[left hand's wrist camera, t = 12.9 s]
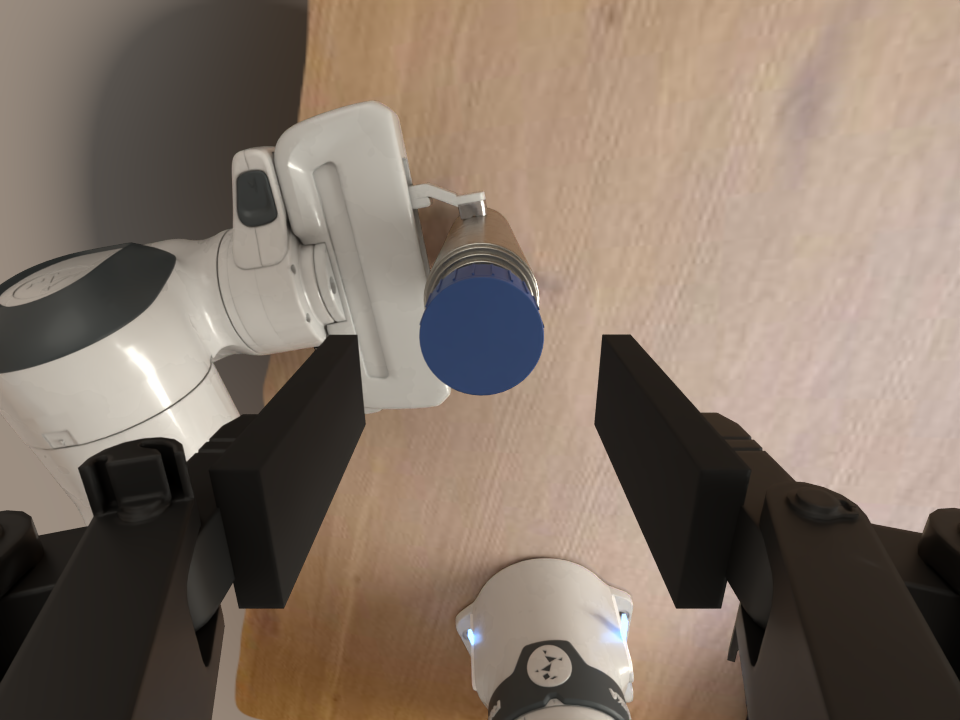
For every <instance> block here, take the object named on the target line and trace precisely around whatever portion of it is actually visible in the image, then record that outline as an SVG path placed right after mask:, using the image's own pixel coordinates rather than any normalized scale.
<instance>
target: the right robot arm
mask: <svg viewBox="0 0 960 720" xmlns="http://www.w3.org/2000/svg"><path fill="white" fill-rule="evenodd" d="M232 189H233V228H231V229H227V230H224V231H222V232H220V233H218V234H216V235H215V236H213V237H211V238H208V239H204V240H188V239H170V240H164V241H158V242H153V243H148V244H144V245H141V244H136V243H125V244H119V245H113V246H108V247H102V248H97V249H92V250H87V251H82V252H77V253H73V254H69V255H65V256H62V257H58V258H55V259H52V260H49V261H46V262H43V263H41V264H38V265H36V266H33V267H31V268H29V269H27V270H24V271H22V272H21V273H19V274H17V275H15V276H13V277H12V278H10V279H8V280H7V281H5V282H4V283H2V284H1V285H0V414H1V415H2V416H3V418H4V419H5V420H6V421H7V422H8V424H9V425H10V426H11V427H12V429H13V430H14V431H15V432H16V433H17V435H18V436H19V437H20V438H21V440H22V441H23V442H24V443H25V444H26V445H28V446H29V447H30V448H31V450H32V451H33V452H34V453H35V455H36V456H37V457H38V458H39V460H40V461H41V462H42V463H43V465H44V466H45V467H46V469H47V470H48V471H49V472H50V474H51V475H52V476H53V477H54V478H55V480H56V481H57V482H58V483H59V485H60V486H61V487H62V489H63V490H64V491H65V492H66V494H67V495H68V496H69V497H70V499H71V500H72V501H73V502H74V504H75V505H76V507H77V508H78V510H79V512H80V513H81V515H82V517H83V520H84V522H85V525H86V526H88V525H89V524H90V522H91V520H92V518H93V513H92V510H91V507H90V504H89V501H88V498H87V495H86V492H85V489H84V486H83V482H82V479H81V476H80V473H79V470H78V467H79V466H80V465H81V464H83V463H84V462H85V461H86V460H87V459H88V458H90V457H91V456H93V455H95V454H97V453H99V452H101V451H102V450H104V449H107V448H110V447H112V446H115V445H118V444H121V443H123V442H128V441H132V440H137V439H142V438H153V437H164V438H171V439H175V440H177V441H178V442H180V443H182V444H183V448H184V453H185V457H186V461H188V460H189V459H190V458H191V457H192V456H193V455H194V454H195V453H198V450H199V449H200V448H201V447H202V446H203V445H204V444H205V443H206V442H209V439H210V438H211V437H212V436H213V435H214V434H215V433H216V432H217V431H218V430H219V429H220V428H221V427H222V426H223V425H225V424H226V423H228V422H230V421H232V420H234V419H236V418H237V417H239V416H240V414H239V412H238V410H237V408H236V406H235V404H234V403H233V401H232V399H231V397H230V395H229V393H228V391H227V389H226V387H225V385H224V383H223V381H222V379H221V377H220V375H219V373H218V371H217V369H216V367H215V365H214V363H213V362H216V361H218V360H220V359H222V358H224V357H226V356H229V355H233V354H248V355H268V354H274V353H280V352H287V351H293V350H299V349H305V348H311V347H314V349H315V350H316V349H317V348H318V347H319V346H320V345H321V344H322V342H323V341H324V340H325V339H326V338H327V337H328V336H329V335H358V345H359V356H360V367H361V378H362V390H363V401H364V412H365V414H369V413H375V412H379V411H381V410H383V409H416V408H428V407H435V406H438V405H440V404H442V403H443V402H444V401H445V400H446V398H447V397H448V396H449V395H450V393H451V387H449V386H447V385H446V384H444V383H443V382H442V381H440V380H439V379H438V378H437V377H436V376H435V375H434V374H433V373H432V371H431V370H430V369H429V367H428V366H427V364H426V362H425V360H424V357H423V355H422V352H421V348H420V340H419V331H420V325H419V324H420V321H421V318H422V316H423V313H424V310H425V309H424V300H423V299H424V289H425V284H426V281H427V278H428V276H429V274H430V272H431V271H430V266H429V261H428V257H427V252H426V247H425V242H424V237H423V232H422V227H421V223H420V218H419V213H418V208H423V207H429V206H430V205H431V204H432V203H433V200H432V198H435V199H437V200H440V201H443V202H445V203H448V204H451V205H453V206H456V207H458V208H459V213H460V218H461V220H462V219H468V218H471V217H472V216H473V215H475V216H485V215H488V213H487V206H486V199H485V193H484V191H478V192H473V193H467V194H461V195H457V193H455V192H453V191H450V190H447V189H445V188H442V187H440V186H437V185H434V184H432V183H424V184H419V185H413V184H412V179H411V174H410V169H409V164H408V159H407V154H406V150H405V145H404V140H403V135H402V130H401V125H400V121H399V117H398V115H397V114H396V113H395V112H394V111H393V110H392V109H391V108H389V107H388V106H386V105H385V104H383V103H381V102H379V101H365V102H360V103H356V104H352V105H348V106H344V107H341V108H337V109H334V110H331V111H328V112H325V113H322V114H319V115H316V116H314V117H311V118H308V119H306V120H304V121H301V122H299V123H297V124H295V125H293V126H292V127H290V128H289V129H287V130H286V131H285V132H284V133H283V134H282V135H281V137H280V138H279V140H278V142H277V144H276V147H273V146H262V147H254V148H249V149H246V150H243V151H240V152H238V153H236V154H235V156H234V157H233V161H232ZM632 611H633V603H632V598H631V596H630V595H629V594H628V593H627V592H625V591H622V590H620V589H617V588H614V587H611V586H608V585H607V584H605V583H604V582H603V581H602V580H601V579H599V578H598V577H597V576H596V575H595V574H594V573H593V572H591V571H590V570H588V569H587V568H585V567H583V566H581V565H579V564H576V563H574V562H570V561H567V560H562V559H555V558H537V559H530V560H525V561H521V562H518V563H515V564H513V565H510V566H508V567H506V568H504V569H503V570H501V571H499V572H498V573H496V574H495V575H494V576H493V577H492V578H490V579H489V580H488V582H487V583H486V584H485V585H484V586H483V588H482V589H481V591H480V593H479V595H478V596H477V598H476V599H475V601H474V602H473V603H472V604H470V605H469V606H467V607H466V608H465V609H463V610H462V611H461V612H460V613H459V614H458V615H457V616H456V618H455V622H456V629H457V632H458V633H459V635H460V637H461V639H462V641H463V643H464V645H465V647H466V648H467V650H468V652H469V654H470V656H471V669H472V686H473V689H474V690H475V691H477V692H478V695H479V697H480V699H481V701H482V702H483V704H484V705H485V706H486V708H487V709H488V720H631V716H630V712H629V709H628V707H627V705H626V702H631V701H633V688H632V683H631V682H633V681H634V675H633V667H632V661H631V657H630V653H629V650H628V646H627V639H628V634H629V628H630V622H631V617H632Z"/></svg>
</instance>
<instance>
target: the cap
mask: <svg viewBox="0 0 960 720" xmlns="http://www.w3.org/2000/svg"><path fill="white" fill-rule="evenodd" d="M425 307H426V309H425V310H424V313H423V316H422V318H421V321H420V324H419V325H420V331H419V340H420V348H421V352H422V355H423V357H424V360H425V362H426V364H427V366H428V367H429V369H430V370H431V371H432V373H433V374H434V375H435V376H436V377H437V378H438V379H439V380H440V381H442V382H443V383H444V384H446V385H447V386H449V387H451V388H453V389H455V390H457V391H460V392H463V393H466V394H471V395H492V394H497V393H500V392H504V391H506V390H508V389H511V388H512V387H514V386H516V385H518V384H519V383H520V382H522V381H523V380H524V379H525V378H526V377H527V376H528V375H529V374H530V373H531V371H532V370H533V369H534V367H535V366H536V364H537V362H538V360H539V358H540V356H541V352H542V349H543V343H544V329H543V328H544V325H543V322H542V320H541V316H540V314H539V311H538V310H540V309H539V307H538V304H537V302H536V299H535V297H534V295H533V296H532V294H531V293H530V291H529V289H528V288H527V286H526V284H525V282H524V281H521V280H520V279H519V278H518V277H517V276H516V275H514V274H513V273H511V271H510V270H506V269H503V268H501V267H498V266H494V265H493V264H491V265H487V264H475V263H474V264H472V265H469V266H465V267H462V268H460V269H455V271H453V272H452V273H450V274H449V275H447V276H446V277H445V278H444V279H443V280H442V279H441V280H440V282H439V284H438V285H437V286H436V288H435V289H434V291H433V293H430V295H429V297H428V300H427V303H426V305H425Z"/></svg>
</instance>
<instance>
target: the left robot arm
mask: <svg viewBox="0 0 960 720" xmlns="http://www.w3.org/2000/svg"><path fill="white" fill-rule="evenodd" d="M365 425H366V423H365V412H364V401H363V390H362V378H361V367H360V356H359V345H358V335H329V336H328V337H327V338H326V339H325V340H324V341H323V342H322V344H321V345H320V346H319V347H318V348H317V349H316V350H315V351H314V353H313V354H312V355H311V356H310V357H309V358H308V359H307V360H306V361H305V363H304V364H303V365H302V366H301V367H300V368H299V369H298V370H297V371H296V373H295V374H294V375H293V376H292V377H291V378H290V379H289V380H288V382H287V383H286V384H285V385H284V386H283V387H282V388H281V389H280V390H279V392H278V393H277V394H276V395H275V396H274V397H273V398H272V399H271V400H270V402H269V403H268V404H267V405H266V406H265V407H264V408H263V409H262V411H261V412H260V413H259V414H243V415H241V416H239V417H237V418H236V419H234V420H232V421H230V422H228V423H226V424H225V425H223V426H222V427H221V428H220V429H219V430H218V431H217V432H216V433H215V434H214V435H213V436H212V437H211V438H210V439H209V442H206V443H205V444H204V445H203V446H202V447H201V448H200V449H199V450H198V453H195V454H194V455H193V456H192V457H191V458H190V459H189V460H188V461H186V457H185V453H184V448H183V444H182V443H180V442H178V441H177V440H175V439H171V438H164V437H153V438H142V439H137V440H132V441H128V442H123V443H121V444H118V445H115V446H112V447H110V448H107V449H104V450H102V451H101V452H99V453H97V454H95V455H93V456H91V457H90V458H88V459H87V460H86V461H85V462H84V463H83V464H81V465H80V466H79V467H78V470H79V473H80V476H81V479H82V482H83V486H84V489H85V492H86V495H87V498H88V501H89V504H90V507H91V510H92V513H93V518H92V520H91V522H90V524H89V525H88V526H86V527H81V528H76V529H71V530H66V531H60V532H55V533H50V534H45V535H40V536H38V533H37V530H36V528H35V525H34V522H33V520H32V517H31V516H29V515H28V514H26V513H24V512H22V511H9V510H6V511H0V720H212V713H213V705H214V698H215V691H216V684H217V677H218V670H219V662H220V655H221V648H222V641H223V634H224V627H225V625H224V618H223V613H222V609H221V605H220V604H221V602H222V600H223V599H224V597H225V595H226V593H227V592H228V590H229V588H230V587H231V585H232V583H233V584H234V588H235V593H236V597H237V602H238V606H239V608H243V609H284V607H285V605H286V603H287V600H288V598H289V596H290V594H291V591H292V589H293V587H294V585H295V582H296V580H297V578H298V576H299V573H300V571H301V569H302V566H303V564H304V562H305V560H306V557H307V555H308V553H309V551H310V548H311V546H312V544H313V542H314V539H315V537H316V535H317V533H318V530H319V528H320V526H321V524H322V521H323V519H324V517H325V515H326V512H327V510H328V508H329V506H330V503H331V501H332V499H333V497H334V494H335V492H336V490H337V488H338V485H339V483H340V481H341V479H342V476H343V474H344V472H345V470H346V467H347V465H348V463H349V461H350V458H351V456H352V454H353V452H354V449H355V447H356V445H357V443H358V440H359V438H360V436H361V434H362V431H363V429H364V427H365ZM594 425H595V427H596V429H597V431H598V434H599V436H600V438H601V440H602V443H603V445H604V447H605V449H606V452H607V454H608V456H609V458H610V461H611V463H612V465H613V467H614V470H615V472H616V474H617V476H618V479H619V481H620V483H621V485H622V488H623V490H624V492H625V494H626V497H627V499H628V501H629V503H630V506H631V508H632V510H633V512H634V515H635V517H636V519H637V521H638V524H639V526H640V528H641V530H642V533H643V535H644V537H645V539H646V542H647V544H648V546H649V548H650V551H651V553H652V555H653V557H654V560H655V562H656V564H657V567H658V569H659V571H660V573H661V576H662V578H663V580H664V582H665V585H666V587H667V589H668V591H669V594H670V596H671V598H672V600H673V603H674V605H675V607H676V609H721V606H722V602H723V597H724V593H725V588H726V584H727V581H728V582H729V584H730V586H731V587H732V589H733V591H734V592H735V594H736V596H737V597H738V599H739V601H740V605H739V609H738V613H737V617H736V621H735V626H734V630H733V634H732V638H731V642H730V647H729V652H728V659H727V660H729V661H732V662H735V659H736V655H737V651H738V650H739V654H740V661H741V668H742V675H743V683H744V690H745V697H746V704H747V711H748V718H749V720H960V509H958V508H946V509H937V510H936V511H934V512H932V513H931V514H930V515H929V517H928V520H927V522H926V525H925V528H924V530H923V533H918V532H913V531H907V530H902V529H897V528H891V527H886V526H881V525H876V524H871V523H870V521H869V519H868V517H867V516H866V514H865V513H864V512H863V511H862V510H861V509H860V508H859V506H858V505H856V504H855V503H853V502H852V501H850V500H849V499H847V498H846V497H844V496H843V495H841V494H839V493H836V492H834V491H831V490H829V489H827V488H824V487H821V486H817V485H813V484H809V483H805V482H796V481H795V480H794V479H793V478H792V477H791V476H790V475H789V474H788V473H787V472H786V471H785V470H784V469H783V468H782V467H781V466H780V465H779V464H778V463H777V462H776V461H775V460H774V459H773V458H772V457H771V456H770V455H769V454H768V453H767V452H766V451H762V447H761V446H760V445H759V444H758V443H757V442H756V441H755V440H751V436H750V435H749V434H748V433H747V432H746V431H745V430H744V429H743V428H742V427H741V426H740V425H739V424H737V423H735V422H734V421H732V420H730V419H728V418H726V417H724V416H722V415H721V414H719V413H700V412H699V411H698V409H697V408H696V407H695V406H694V405H693V404H692V403H691V402H690V400H689V399H688V398H687V397H686V396H685V395H684V394H683V393H682V392H681V390H680V389H679V388H678V387H677V386H676V385H675V384H674V383H673V382H672V380H671V379H670V378H669V377H668V376H667V375H666V374H665V373H664V371H663V370H662V369H661V368H660V367H659V366H658V365H657V364H656V363H655V361H654V360H653V359H652V358H651V357H650V356H649V355H648V354H647V353H646V351H645V350H644V349H643V348H642V347H641V346H640V345H639V344H638V342H637V341H636V340H635V339H634V338H633V337H632V336H631V335H602V345H601V356H600V367H599V378H598V390H597V401H596V412H595V423H594Z"/></svg>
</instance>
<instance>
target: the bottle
mask: <svg viewBox="0 0 960 720" xmlns="http://www.w3.org/2000/svg"><path fill="white" fill-rule="evenodd" d="M487 213H488V215H485V216H475V215H473V216H472V217H471V218H468V219H462V220H461V218H460V216H459V217H458V218H457V219H456V220H455V222H454V223H453V225H452V227H451V229H450V232H449V234H448V236H447V238H446V240H445V242H444V244H443V246H442V249H441V251H440V253H439V255H438V257H437V259H436V261H435V263H434V265H433V268H432V270H431V272H430V274H429V276H428V278H427V281H426V284H425V289H424V299H423V300H424V309H426V307H425V305H426V303H427V300H428V297H429V295H430V293H433V291H434V289H435V288H436V286H437V285H438V284H439V282H440V280H441V279H442V280H443V279H444V278H445V277H446V276H447V275H449V274H450V273H452V272H453V271H455V269H460V268H462V267H465V266H469V265H472V264H474V263H475V264H487V265H491V264H493V265H494V266H498V267H501V268H503V269H506V270H510V271H511V273H513V274H514V275H516V276H517V277H518V278H519V279H520V280H521V281H524V282H525V284H526V286H527V288H528V289H529V291H530V293H531V294H532V296H533V295H534V297H535V299H536V302H537V304H538V307H539V290H538V285H537V282H536V279H535V277H534V274H533V272H532V270H531V268H530V266H529V264H528V262H527V260H526V258H525V256H524V254H523V252H522V250H521V248H520V246H519V244H518V242H517V240H516V238H515V235H514V233H513V231H512V229H511V227H510V225H509V223H508V222H507V220H506V219H505V218H504V217H503V216H502V215H501V214H500V213H498V212H497V211H495V210H492V209H490V208H487Z"/></svg>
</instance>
